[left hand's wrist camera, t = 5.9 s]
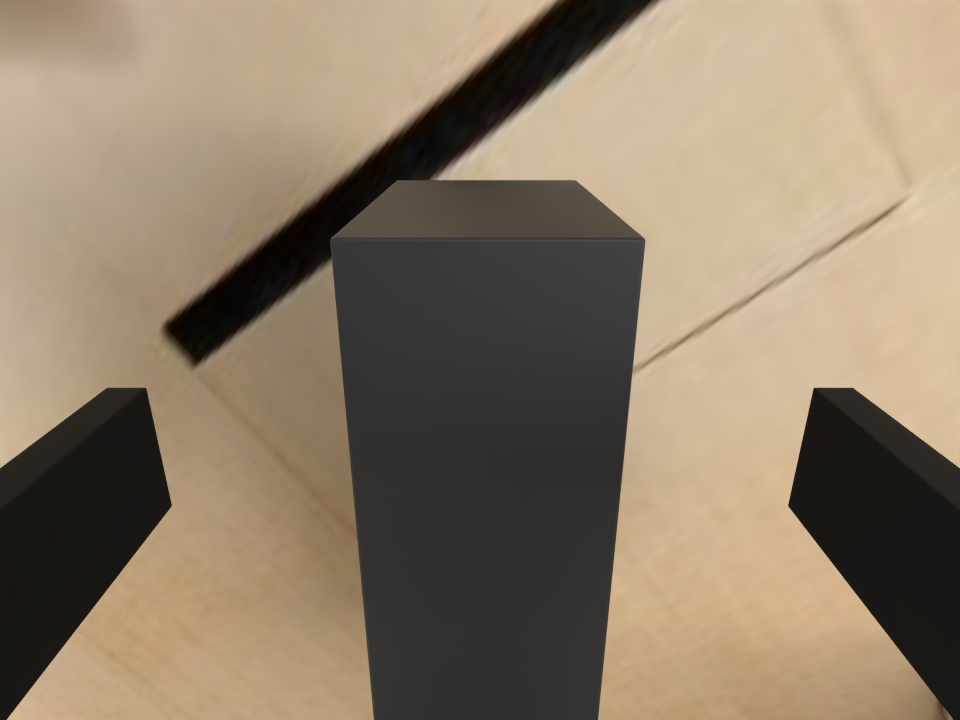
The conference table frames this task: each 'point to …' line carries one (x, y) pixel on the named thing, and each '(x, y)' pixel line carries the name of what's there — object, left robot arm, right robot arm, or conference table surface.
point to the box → (486, 440)
